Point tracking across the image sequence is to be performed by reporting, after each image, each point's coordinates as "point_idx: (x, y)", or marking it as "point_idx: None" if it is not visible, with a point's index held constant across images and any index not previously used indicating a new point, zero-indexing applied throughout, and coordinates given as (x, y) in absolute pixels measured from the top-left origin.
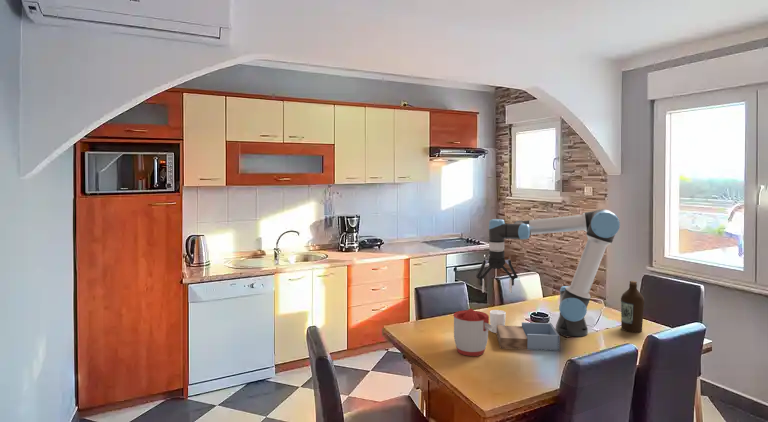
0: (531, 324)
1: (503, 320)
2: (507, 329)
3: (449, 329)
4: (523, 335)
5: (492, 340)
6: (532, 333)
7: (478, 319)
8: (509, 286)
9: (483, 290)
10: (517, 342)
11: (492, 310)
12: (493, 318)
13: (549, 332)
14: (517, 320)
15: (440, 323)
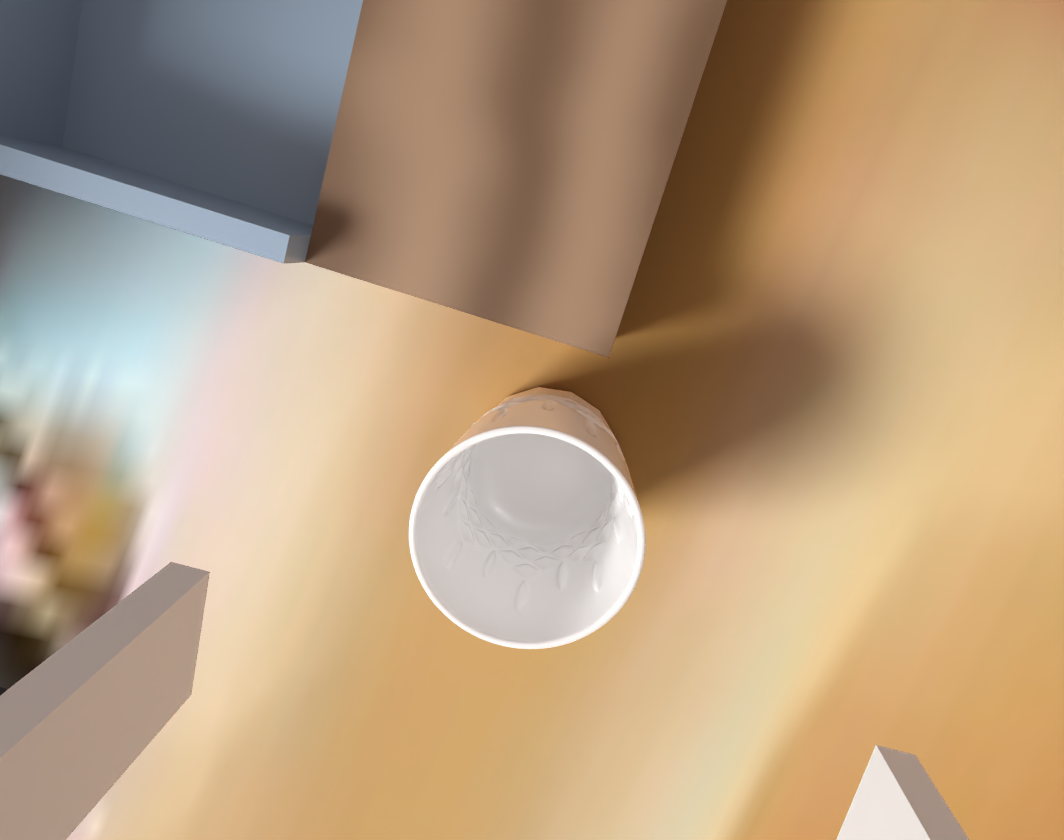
0: (176, 199)
1: (488, 417)
2: (538, 166)
3: (1052, 618)
4: None
5: (727, 181)
6: (222, 199)
7: None
8: (113, 766)
9: (918, 790)
10: None
11: (567, 636)
12: (619, 459)
13: (25, 136)
14: (207, 727)
15: (1060, 813)
